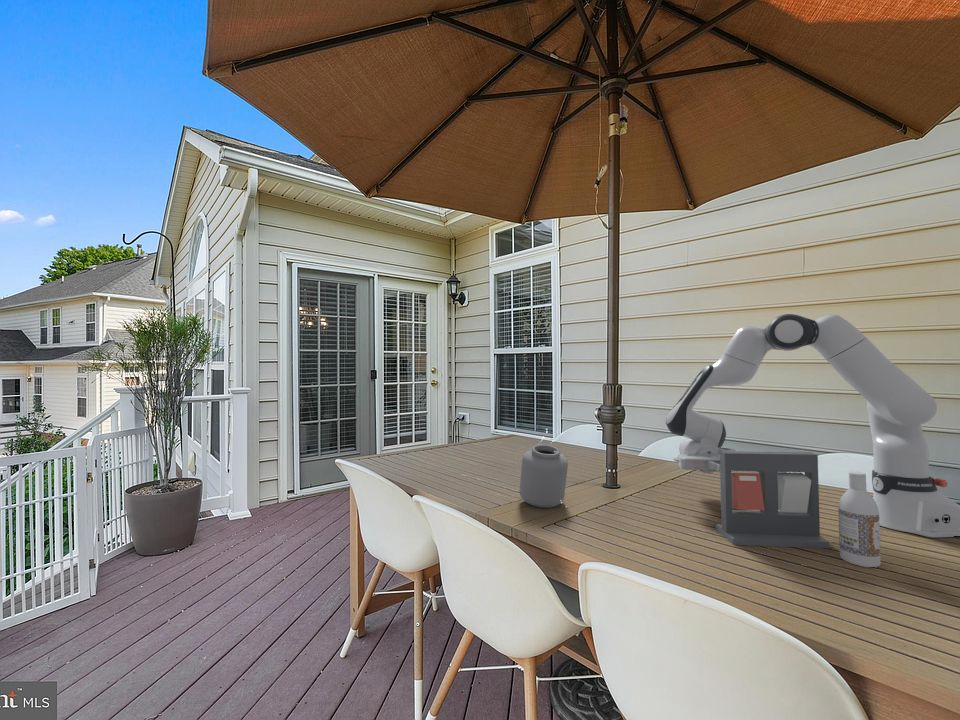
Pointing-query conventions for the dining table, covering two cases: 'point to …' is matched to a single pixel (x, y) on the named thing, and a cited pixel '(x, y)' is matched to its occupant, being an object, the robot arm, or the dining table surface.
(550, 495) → the jar
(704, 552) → the dining table surface
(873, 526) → the bath foam
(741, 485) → the red rocker
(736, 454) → the switch panel
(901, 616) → the dining table surface
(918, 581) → the dining table surface
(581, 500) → the dining table surface
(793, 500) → the grey rocker
